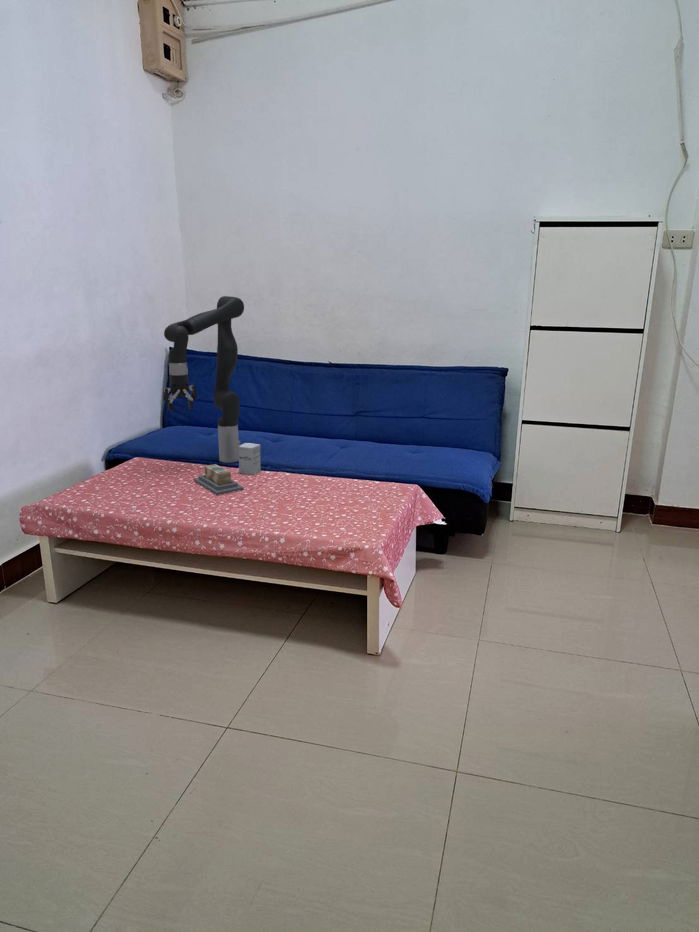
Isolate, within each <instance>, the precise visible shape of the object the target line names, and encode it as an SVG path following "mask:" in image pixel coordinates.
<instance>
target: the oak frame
mask: <svg viewBox="0 0 699 932" xmlns="http://www.w3.org/2000/svg"><path fill="white" fill-rule="evenodd" d="M231 474H232V473H231V471H229V470H227V469H225V468H224V467H222V466H220V465H218V464H216V463H214V464H209V465H205V466H204V475H205V478H207V479H208V480H210V481H212V482H214V483H215V484H217V485H219V486H221V485H226V484H231V480H232V475H231Z"/></svg>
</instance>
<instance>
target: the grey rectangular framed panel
mask: <svg viewBox="0 0 699 932" xmlns="http://www.w3.org/2000/svg"><path fill="white" fill-rule="evenodd" d="M194 481H195V482H194ZM193 482H194V483H196V484H197V483H198V484H197V485H199V484H200V485H199V486H201V487H202V486H203V487H202V488H204V487H205V488H204V489H206V490H207V489H208V490H207V491H209V490H210V491H211V492H210V491H209V492H210V493H212V492H213V493H212V494H214V495H215V494H216V495H215V496H220V495H219V494H222V495H225V494H224V493H226V494H230V493H229V492H231V493H234V492H233V491H236V492H239V491H238V490H241V491H244V490H243V489H244V487H243V486H242V485H241V484H239V483H238V482H237V481H234V480H233V479H231V484H226V485H221V486H219V485H217V484H215V483H214V482H212V481H210V480H208V479H207V478H205V474H202V475H198V477H195V478H193Z"/></svg>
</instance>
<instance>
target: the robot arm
mask: <svg viewBox="0 0 699 932" xmlns="http://www.w3.org/2000/svg"><path fill="white" fill-rule="evenodd" d="M244 311H245V304H244V301H243V299H241V298H239V297H236V296H227V295H225V296H221V297H219V299H218V301H217V303H216V308H214V309H211V310H207V311H204V312H200V313H197V314H195V315H193V316H191V317H188V318H186V319H184V320H180V321H177V322H174V323H171V324H169V325H167V327H165V329H164V331H163V336H164V338H165V339H166V340H167V341H169V342H172V343H173V348H170V349H169V351H168V359H169V360H168V362H169V367H168V368H169V369H168V370H169V384H170V386H169V387H163V388H162V401H163V402H164V403H167V408H168V411H170V413H174V404H173V402H174V401H175V399H176V398H180V397H182V398H184V397H185V398H187V404H188V405H187V407H188V410H193V408H194V403H193V402H194V400H196V399H197V398H198V397H197V396H198V395H197V388H196V385H194V384H191V385H189V374H188V373H189V369H188V363H187V349H188V344H189V337H190V336H193V335H196V334H199V333H200V332H202V331H205V330H206V329H208V328H210V327H212V326H215V325H217V346H216V370H215V371H216V374H215V383H214V391H213V404H214V406H215V408H217V409H218V410H221V411H222V412H221V413H222V416H221V417H219V418H218V419H217V433H218V435H217V436H218V440H217V441H218V455H219V456H218V459H219V462H220V463H227V464H228V463H229V464H230V463H236V462H239V452H238V446H240V445H241V440H239V424H238V423H239V419H240V397H239V396H238V394H237V392H234V391H231V390H230V384H231V383H230V380H231V377H232V374H233V373H234V370H235V369H236V366H237V363H238V355H239V353H238V351H239V349H238V348H239V347H238V344H237V340H236V338H235V336H234V333H233V329H232V320H233V319H236V318H239V317H241V315H242V314H243V313H244ZM189 390H190V391H191V394H190V393H189ZM170 392H171V393H170ZM169 393H170V395H169Z"/></svg>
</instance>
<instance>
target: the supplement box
mask: <svg viewBox="0 0 699 932" xmlns="http://www.w3.org/2000/svg"><path fill="white" fill-rule="evenodd" d="M238 452H239V460H238V473H239V474H244V475H251V476H254V475H256V474H258V473H260V472H261V471H262V470H261V464H262V463H261V444H259V443H258V444H257V443H253V442H252V443H251V442H244V443H242V444H240V446H238ZM257 472H258V473H257ZM255 473H256V474H255Z"/></svg>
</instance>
